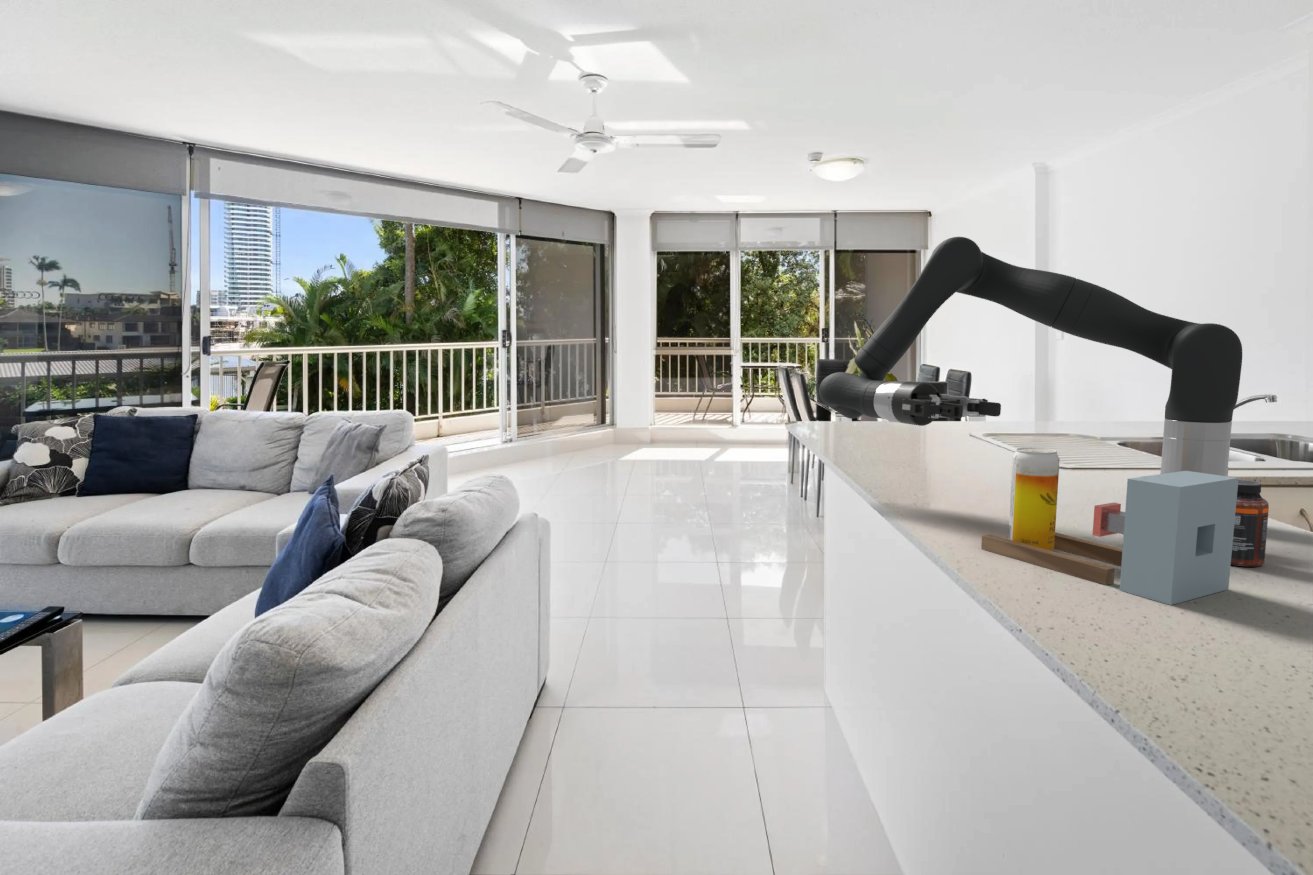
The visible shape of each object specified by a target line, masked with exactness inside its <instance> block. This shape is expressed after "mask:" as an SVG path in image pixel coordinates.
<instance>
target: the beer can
mask: <svg viewBox="0 0 1313 875" xmlns="http://www.w3.org/2000/svg"><path fill="white" fill-rule="evenodd" d="M1060 460H1061V459H1060V457H1059V454H1058V451H1057V450H1055V449H1052V448H1044V447H1026V446H1025V447H1017V448H1015V452H1014V453H1013V456H1012V461H1011V462H1012V463H1011V464H1012V466H1011V480H1010V481H1011V482H1010V484H1011V486H1010V502H1009V516H1008V517H1009V521H1008V537H1007V539H1008V540H1012V541H1016V542H1020V543H1023V544H1027V545H1031V546H1035V547H1038V548H1042V549H1046V550H1050V551H1053V550H1055V549H1054V543H1055V533H1056V522H1057V511H1058V510H1057V508H1058V507H1057V506H1058V494H1059V492H1058V491H1059V490H1058V489H1059V478H1060V477H1059V474H1060Z"/></svg>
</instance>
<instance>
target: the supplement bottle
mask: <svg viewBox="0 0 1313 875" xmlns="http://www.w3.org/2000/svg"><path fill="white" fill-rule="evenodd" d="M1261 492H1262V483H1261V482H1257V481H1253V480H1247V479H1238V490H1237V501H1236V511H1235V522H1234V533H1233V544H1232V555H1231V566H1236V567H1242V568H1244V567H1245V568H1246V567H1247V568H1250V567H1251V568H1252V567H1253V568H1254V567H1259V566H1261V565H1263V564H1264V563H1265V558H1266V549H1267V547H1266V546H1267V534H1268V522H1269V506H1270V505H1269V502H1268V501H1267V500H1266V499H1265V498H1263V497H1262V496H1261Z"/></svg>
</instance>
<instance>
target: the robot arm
mask: <svg viewBox="0 0 1313 875" xmlns="http://www.w3.org/2000/svg"><path fill="white" fill-rule="evenodd" d="M956 293H958V294H962V295H967V296H971V297H975V298H979V299H982V300H985V301H990V302H992V303H996V304H997V305H1000V306H1003V307H1005V308H1007V309H1008V310H1011V311H1012V312H1015V313H1018V314H1019V315H1021V316H1023V317H1026V318H1027V319H1030V320H1033V321H1035V322H1037V323H1040V324H1043V325H1045V326H1047V327H1049V328H1052V329H1054V330H1057V331H1060V332H1063V333H1065V334H1069V335H1071V336H1075V337H1077V338H1081V339H1084V340H1087V341H1091V342H1096V343H1100V344H1102V345H1103V344H1104V345H1108V346H1112V347H1117V348H1121V349H1124V350H1128V351H1131V352H1133V353H1135V354H1138V355H1141V356H1143V357H1145V358H1146V359H1147V358H1148V359H1150V360H1152V361H1153V362H1156V363H1158V364H1160V365H1162V366H1164V367H1167V368H1168V369H1171V377H1170V380H1171V381H1170V387H1169V388H1170V389H1169V395H1168V399H1167V401H1166V403H1165V409H1164V425H1163V438H1162V449H1161V450H1162V452H1161V460H1160V461H1161V464H1160V472H1159V473H1160V474H1165V473H1173V472H1180V471H1192V472H1199V473H1206V474H1213V475H1220V476H1228V477H1229V460H1230V448H1231V436H1232V423H1233V415H1234V410H1235V407H1236V405H1237V403H1238V402H1237V401H1238V399H1239V391H1240V390H1239V389H1240V383H1241V382H1240V381H1241V373H1242V366H1243V344H1242V342H1241V339H1240V337H1239V336H1238V334H1237V333H1236V332H1235V331H1233V329H1231V328H1230V327H1228V326H1225V325H1222V324H1220V323H1218V324H1217V323H1212V322H1211V323H1209V322H1207V323H1206V322H1205V323H1197V322H1193V321H1188V320H1184V319H1179V318H1175V317H1171V316H1168V315H1165V314H1161V313H1157V312H1155V311H1151V310H1149V309H1147V308H1145V307H1143V306H1141V305H1138V304H1136V303H1135V302H1133V301H1131V300H1130V299H1128V298H1126V297H1124V296H1123V295H1120V294H1118V293H1116V292H1114V291H1111V290H1110V289H1107V288H1105V287H1103V286H1100V285H1097V284H1095V283H1091V282H1089V281H1086V280H1082V279H1080V278H1076V277H1074V276H1071V275H1067V274H1062V273H1057V272H1053V271H1048V270H1042V269H1034V268H1033V269H1032V268H1026V267H1023V266H1022V267H1021V266H1017V265H1015V264H1011V263H1008V262H1006V261H1003V260H1000V259H998V258H996V257H993V256H991V255H990V254H987V253H985V252H983V251H981V248H980V246H979V245H978V244H977V243H976V241H974V240H972V239H970V238H968V237H966V236H953V237H949V238H947V239H945V240H943V241H941V242H940V243H939V244H938V245H937V246H936V247H935V248H934V249H933V250H932V253H931V255H930V257H929V258H928V260H927V262H926V264H925V266H924V267H923V269H922V271H921V272H920V274H919V276H918V277H917V279H916V281H914V283H913V285H912V286H911V288H910V289H909V290H908V292H907V293H906V294H905V295H904V297H903V298H902V300H901V301H900V302H899V303H898V305H897V306H896V307H895V308H894V309H893V311H892V312H890V314H889V316H887V318H886V319H885V320H884V321H883V322H882V323H881V324H880V326H878V328H877V329H876V330H875V331H874V333H873V334H872V335H871V336H870V337H869V339H868V340H867V341H866V342H865V343H864V344H863V345H862V347H861V348H860V350H858V351H857V353H856V355H855V357H854V363H855V365H856V366H857V368H858V369H859V370H860V371H861V373H860V375H857V374H853V373H849V372H843V371H838V372H834V373H831V374H829V375H827V376H826V377H824V378H823V380H822V381H821V383H820V384H819V388H818V396H819V398H820V400H821V402H822V403H823V404H824V405H826V406H827V407H829V408H830V409H832V410H834V411H835V412H837V413H838V414H840V415H842V416H843V417H845V418H847V419H858V418H859V417H861V416H863V415H864V416H865V417H870V418H872V419H873V418H875V419H881V420H887V421H889V422H892V423H893V422H894V423H899V424H905V425H906V424H907V425H913V426H920V427H922V426H923V427H924V426H927V425H930V424H931V423H932V422H934V421H935V419H939V418H951V419H961V418H966V417H967V416H968V415H970V416H971V415H973V416H974V415H975V416H986V417H987V416H988V417H1000V416H1001V411H1002V405H1001V403H1000V402H996V401H995V402H993V401H989V400H988V399H986V398H974V397H973V398H972V397H971V398H970V397H968V396H966V395H964V396H963V395H962V396H961V395H950V393H939V391H938V390H937V388H936V387H935V386H934V385H933V384H931V383H929V382H920V381H919V382H918V381H905V380H893V381H888V380H885V378H886V376H887V375H888V374H889V373H890V372H891V370H892V369H893V367H895V365H896V364H897V363H898V362H899V361H900V359H901V358H902V357H903V356H904V355H905V354H906V353H907V351H908V350H909V348H910V347H911V346H912V345H913V343H914V342H915V341H916V339H917V337H919V334H920V333H921V331H922V330H923V329H924V327H925V326H926V324H927V323H928V321H929V320H931V318H932V316H933V315H934V314H935V313H936V312H937V311H938V310H939V309H940V308H941V307H942V306H943V305H944V303H945V302H947V300H949V299H950V298H951V297H952V296H953V295H954V294H956Z"/></svg>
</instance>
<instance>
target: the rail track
mask: <svg viewBox="0 0 1313 875" xmlns="http://www.w3.org/2000/svg"><path fill="white" fill-rule="evenodd" d="M980 546H981V550H983V551H988V552H991V553H994V554H998V555H1000V556H1005V557H1008V558H1011V559H1015V560H1019V561H1021V562H1026V563H1028V564H1032V565H1036V566H1039V567H1042V568H1046V569H1049V570H1051V571H1052V570H1053V571H1056V572H1060V573H1063V574H1066V575H1070V576H1073V577H1077V578H1080V579H1084V580H1087V581H1091V582H1094V583H1096V584H1097V583H1098V584H1101V585H1104V586H1107V585H1111V584H1114V582H1115V570H1116V568H1115V567H1112V566H1108V565H1104V564H1101V563H1097V562H1093V561H1090V560H1086V559H1083V558H1080V557H1075V556H1072V555H1068V554H1064V553H1060V552H1058V551H1062V552H1067V553H1070V554H1073V555H1077V556H1081V557H1085V558H1089V559H1092V560H1096V561H1100V562H1104V563H1108V564H1112V565H1116V566H1119V567H1121V564H1122V550H1123V548H1122V547H1121V548H1120V547H1117V546H1112V545H1108V544H1104V543H1100V542H1095V541H1092V540H1088V539H1083V538H1079V537H1075V536H1070V535H1067V534H1064V533H1063V534H1062V533H1059V532H1055V543H1054V549H1053V550H1058V551H1057V552H1056V551H1053V550H1051V551H1050V550H1046V549H1042V548H1038V547H1035V546H1031V545H1027V544H1023V543H1020V542H1016V541H1012V540H1008V538H1003V537H1001V536H997V535H992V534H983V535H982V536H981V545H980Z"/></svg>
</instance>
